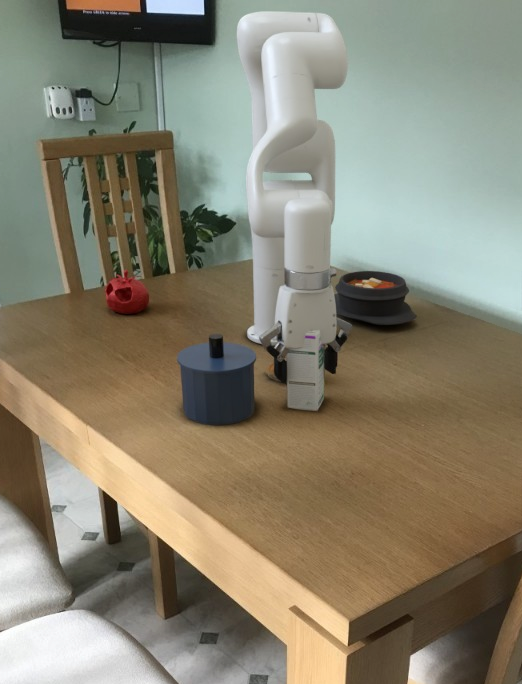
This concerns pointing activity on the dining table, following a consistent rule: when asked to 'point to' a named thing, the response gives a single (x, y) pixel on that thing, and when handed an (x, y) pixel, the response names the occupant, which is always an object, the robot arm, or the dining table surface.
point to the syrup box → (306, 373)
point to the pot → (218, 396)
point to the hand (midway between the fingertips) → (305, 375)
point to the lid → (216, 356)
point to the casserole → (373, 298)
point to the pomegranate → (126, 295)
